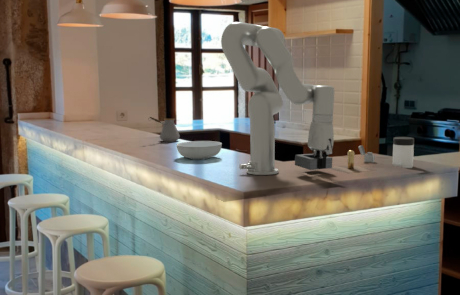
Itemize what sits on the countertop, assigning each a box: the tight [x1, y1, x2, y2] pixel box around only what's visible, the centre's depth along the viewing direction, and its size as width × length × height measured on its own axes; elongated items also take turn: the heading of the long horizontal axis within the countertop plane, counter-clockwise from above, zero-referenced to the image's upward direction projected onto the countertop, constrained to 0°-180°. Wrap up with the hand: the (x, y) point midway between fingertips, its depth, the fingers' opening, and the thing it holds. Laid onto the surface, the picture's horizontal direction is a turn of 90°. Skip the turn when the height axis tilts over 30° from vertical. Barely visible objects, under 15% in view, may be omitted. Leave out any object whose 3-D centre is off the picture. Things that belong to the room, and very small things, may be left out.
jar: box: [392, 136, 415, 169], centre depth 227 cm, size 9×8×12 cm
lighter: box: [358, 144, 376, 163], centre depth 234 cm, size 7×2×8 cm, turn 51°
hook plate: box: [328, 164, 376, 174], centre depth 217 cm, size 14×14×1 cm
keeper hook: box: [347, 149, 356, 169], centre depth 217 cm, size 3×3×7 cm
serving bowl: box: [176, 140, 223, 161], centre depth 254 cm, size 21×21×7 cm
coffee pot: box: [148, 116, 181, 143], centre depth 312 cm, size 21×12×15 cm, turn 142°
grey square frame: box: [294, 153, 333, 171], centre depth 209 cm, size 10×10×4 cm
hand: (319, 167), depth 206 cm, fingers closed on grey square frame, 2 cm apart
